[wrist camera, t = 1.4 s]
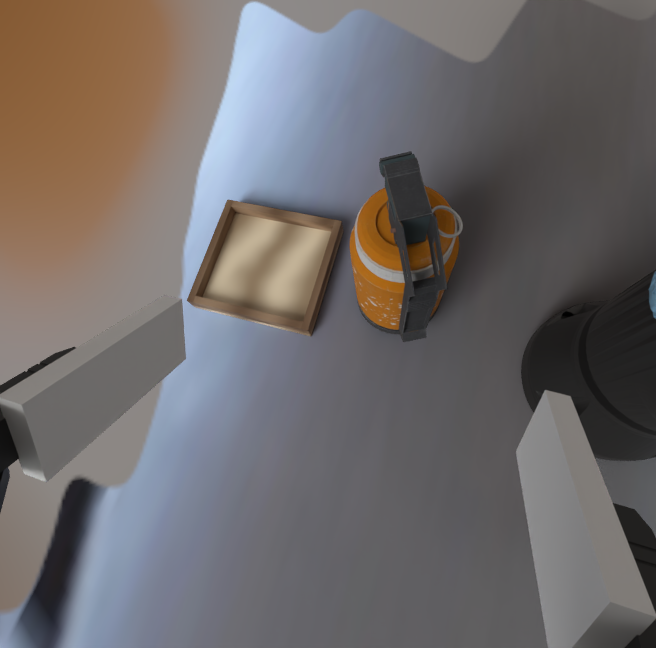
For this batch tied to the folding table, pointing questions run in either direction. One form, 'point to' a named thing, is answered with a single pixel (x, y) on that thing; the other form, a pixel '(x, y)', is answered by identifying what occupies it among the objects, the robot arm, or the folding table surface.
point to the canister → (403, 250)
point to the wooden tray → (267, 266)
